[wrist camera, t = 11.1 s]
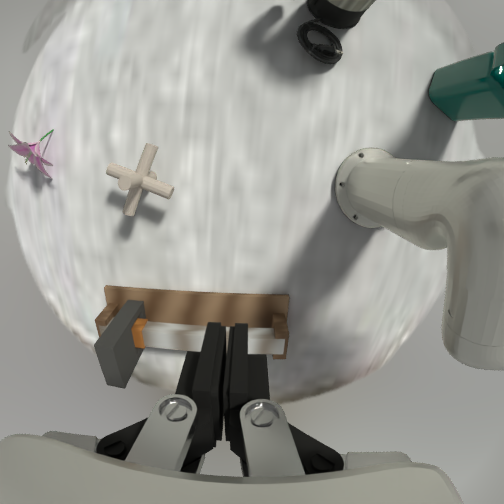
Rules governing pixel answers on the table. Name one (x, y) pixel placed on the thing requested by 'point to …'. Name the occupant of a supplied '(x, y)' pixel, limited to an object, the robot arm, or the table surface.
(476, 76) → the teal bottle
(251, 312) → the pipe stand
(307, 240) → the table surface
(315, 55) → the milk frother
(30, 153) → the lily
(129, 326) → the dark grey tapered slab
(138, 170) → the pipe connector
